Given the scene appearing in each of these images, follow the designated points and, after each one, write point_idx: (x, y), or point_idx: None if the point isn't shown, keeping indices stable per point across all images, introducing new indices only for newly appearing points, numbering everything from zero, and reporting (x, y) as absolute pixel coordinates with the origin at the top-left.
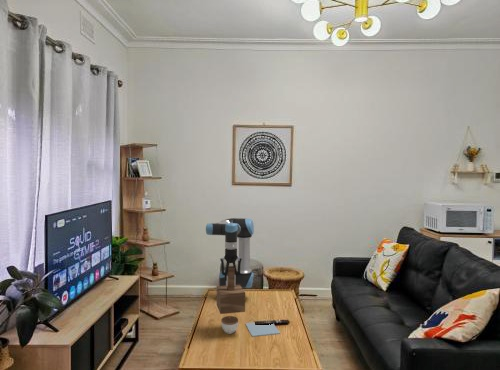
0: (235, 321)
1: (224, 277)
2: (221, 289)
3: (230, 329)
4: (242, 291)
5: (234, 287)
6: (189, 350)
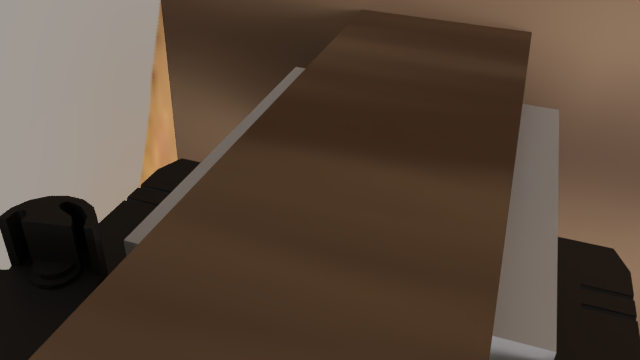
0: None
1: (122, 212)
2: (228, 33)
3: None
4: (637, 316)
5: (590, 2)
6: (153, 115)
